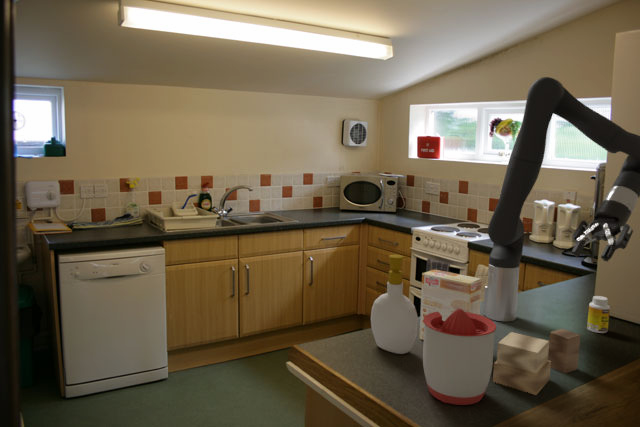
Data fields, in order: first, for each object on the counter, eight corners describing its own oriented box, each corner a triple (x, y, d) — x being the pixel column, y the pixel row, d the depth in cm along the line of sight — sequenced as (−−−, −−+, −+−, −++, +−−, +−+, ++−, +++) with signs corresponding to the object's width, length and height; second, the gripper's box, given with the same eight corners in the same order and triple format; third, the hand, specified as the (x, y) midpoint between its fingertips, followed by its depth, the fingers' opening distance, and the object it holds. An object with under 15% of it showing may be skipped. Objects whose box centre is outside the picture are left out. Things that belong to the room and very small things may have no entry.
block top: (496, 363, 126) (497, 342, 125) (509, 351, 133) (510, 331, 132) (536, 373, 120) (537, 352, 120) (547, 360, 127) (549, 340, 127)
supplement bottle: (601, 335, 157) (604, 301, 156) (583, 329, 162) (586, 296, 160) (611, 331, 160) (614, 298, 159) (593, 325, 165) (596, 293, 163)
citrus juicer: (476, 374, 130) (480, 295, 127) (502, 411, 113) (508, 321, 110) (412, 374, 130) (415, 295, 127) (429, 411, 113) (433, 321, 110)
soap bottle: (425, 351, 144) (429, 257, 140) (406, 361, 137) (410, 262, 133) (382, 337, 153) (385, 248, 149) (362, 346, 147) (365, 253, 143)
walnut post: (547, 365, 136) (550, 332, 134) (559, 361, 138) (562, 328, 137) (565, 373, 132) (568, 338, 130) (577, 369, 134) (580, 335, 133)
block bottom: (492, 382, 127) (494, 362, 126) (507, 368, 134) (509, 350, 134) (536, 396, 121) (537, 375, 120) (549, 380, 128) (551, 360, 127)
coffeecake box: (479, 346, 147) (483, 278, 144) (466, 354, 142) (470, 283, 139) (431, 332, 158) (434, 268, 155) (418, 339, 152) (421, 272, 149)
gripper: (586, 197, 147) (558, 246, 144) (635, 199, 134) (606, 252, 131) (600, 214, 150) (573, 261, 146) (650, 217, 137) (622, 269, 134)
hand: (589, 257), depth 139 cm, fingers open, 8 cm apart
